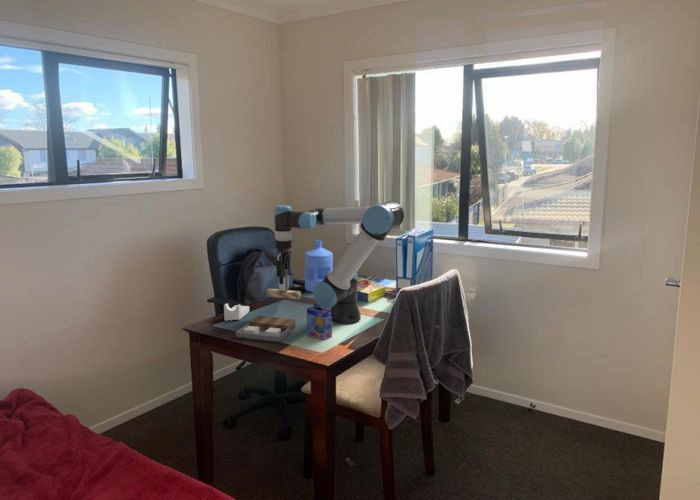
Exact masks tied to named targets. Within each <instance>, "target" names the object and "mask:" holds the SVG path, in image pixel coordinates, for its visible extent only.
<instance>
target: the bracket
mask: <svg viewBox="0 0 700 500" xmlns="http://www.w3.org/2000/svg"><path fill="white" fill-rule="evenodd" d="M249 312H250V306H249V305H241V304H238V305H236V304H235V305H234V306H232V307H230V306H229V303H225V304H224V305H223V315H224V317H223V318H224V321H228V320H231V321H230V322H232V321H234V320H235V321H240V320H241V319H242V318H243V317H244V316H246V315H247V314H248V313H249Z"/></svg>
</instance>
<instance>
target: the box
mask: <svg viewBox="0 0 700 500" xmlns="http://www.w3.org/2000/svg"><path fill="white" fill-rule="evenodd" d="M248 326H250V323H247V324H245V325H244V326H243V327H241V328H240V329H238V330H236V331H235V338H237V339H244V340H253V341H262V342H269V343H270V342H271V343H277V342H278V344H279V343H281V342H283V341H284V340H285V339H286V338H287V337H289V336H290V335H291V331H290V328H287V329H286V330H285V331H284V332H281V334H280V335H279V336H274V335H265V331H266V330H263V329H259V333H258V334H257V333H248V332H243V329H245V328H246V327H248Z"/></svg>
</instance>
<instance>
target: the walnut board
mask: <svg viewBox="0 0 700 500" xmlns="http://www.w3.org/2000/svg"><path fill="white" fill-rule="evenodd" d="M249 324H250V326H254V327H259V329H263V330H268V329H269V328H278V329H281V332H284V331H285V330H286V329H287V328H290V332H291V331H293V330H294V328H296V319H294V318H285V317H283V318H282V317H277V316H276V317H275V316H265V315H257V316H255V317H254V318H253V319H252V320H250V321H249Z"/></svg>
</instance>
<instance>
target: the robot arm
mask: <svg viewBox="0 0 700 500" xmlns="http://www.w3.org/2000/svg"><path fill="white" fill-rule="evenodd" d="M404 220H405V211H404V209H403V207H402V206H401V204H399V203H397V202H396V201H386V202H382V203H374V204H373V205H369V206H352V207H351V206H350V207H348V206H347V207H326V208H323V207H316V208H313V209H309V210H308V209H307V210H304V211H299V210H298V211H296V210H293V209H292V206H291V205H287V204H286V205H285V204H284V205H283V204H281V205H276V206H275V208H274V232H273V234H274V239H275V240H274V248H275V249H276V250H277V251H278V252H277V255H275V266H276V267H275V268H276V269H275V270H276V277H277V278H278V289H279V290H280V291H285V277H284V270H285V269H288V276H290V275H291V256H292V251H290V249H292V236H293V235H292V232H293V231H292V229H301V230H313V229H314V228H315V227H316V226H325V225H326V226H327V225H360V231H359V233H357V235H356V237H355V238H354V240H353V241H352V243H351V244H350V245H349V247H348V248H347V250H346V251H345V253H344V254H343V256H342V257H341V259H340V260H339V262H338V263H337V264H336V266H335V267H334V269H333V271H329V272H328V273H327V274H326V276H325V277H324V279H323V280H322V281H321V282H319V283H318V284H316V285H315V287H314V289H313V292H312V293H313V298H314V300H315V302H316V303H317V305H320V306H321V308H325V309H330V310H332V323H334V324H339V325H349V324H356V323H358V322H360V321H361V319H362V318H361V317H362V316H361V312H360V308H359V305H358V280H359V279H358V274H357V272H358V270H359V269H360V267H362V265H363V264H364V262H365V261H366V259H367V258H368V256H369V255H370V254H371V252H372V251H373V250H374V248H375V247H376V245H377V244H378V242H383V241H384V240H385V239H386V237H387V236H388V235H389V233H390V232H391V231H392V230H394V229H397V228H399V226H401V225H402V223H403V222H404ZM359 320H360V321H359Z"/></svg>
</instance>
